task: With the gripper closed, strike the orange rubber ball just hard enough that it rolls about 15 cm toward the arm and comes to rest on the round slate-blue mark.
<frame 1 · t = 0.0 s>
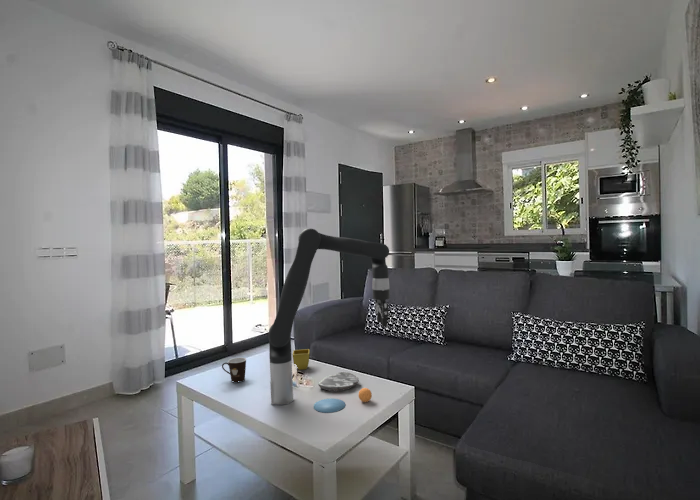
hand: (382, 324, 169), 29 cm above the table, tool pointing down, fingers open, 8 cm apart
flower pot: (301, 368, 203), on the table
ball: (365, 395, 158), on the table
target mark: (329, 405, 155), on the table
coffee mug: (236, 380, 190), on the table
brain slice: (340, 386, 177), on the table
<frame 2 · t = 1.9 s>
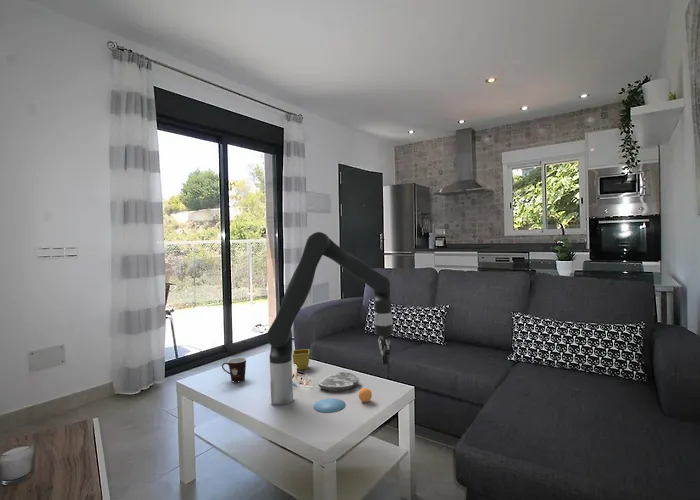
hand: (385, 364, 159), 15 cm above the table, tool pointing down, fingers closed
nothing on the table moved.
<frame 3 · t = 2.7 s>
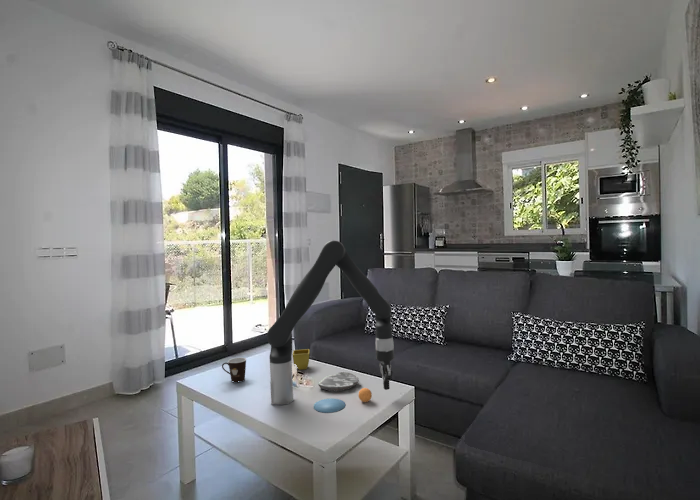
hand: (386, 388, 159), 4 cm above the table, tool pointing down, fingers closed
nothing on the table moved.
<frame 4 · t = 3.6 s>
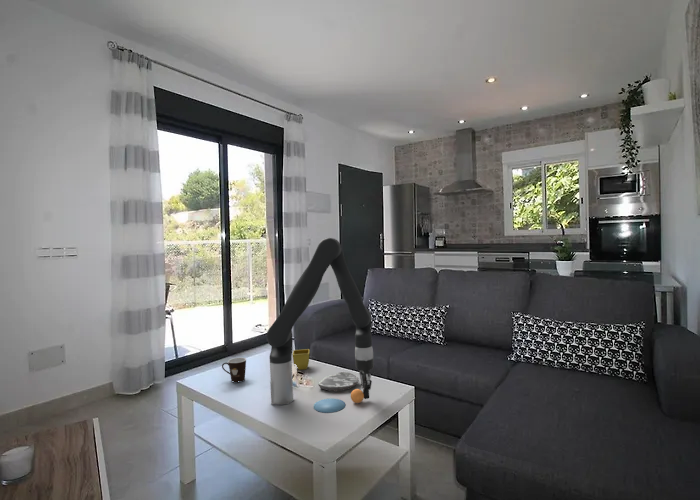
hand: (366, 398, 158), 1 cm above the table, tool pointing down, fingers closed
ball: (357, 395, 157), on the table, touching gripper
everything else where it was.
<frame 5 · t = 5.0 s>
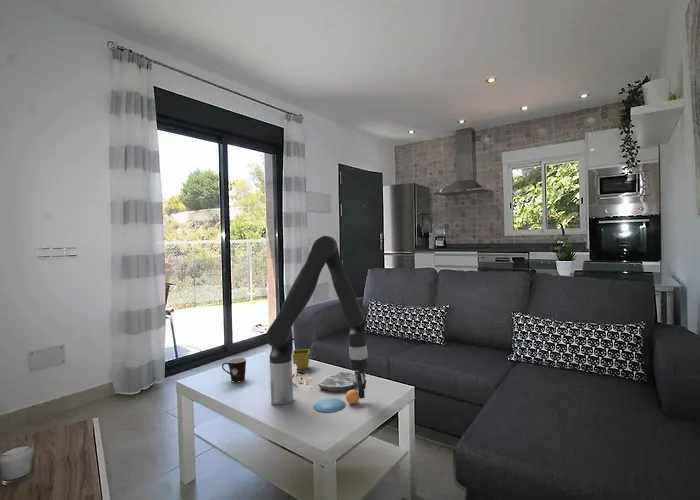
hand: (361, 397, 157), 2 cm above the table, tool pointing down, fingers closed
ball: (352, 396, 157), on the table, touching gripper
everything else where it was.
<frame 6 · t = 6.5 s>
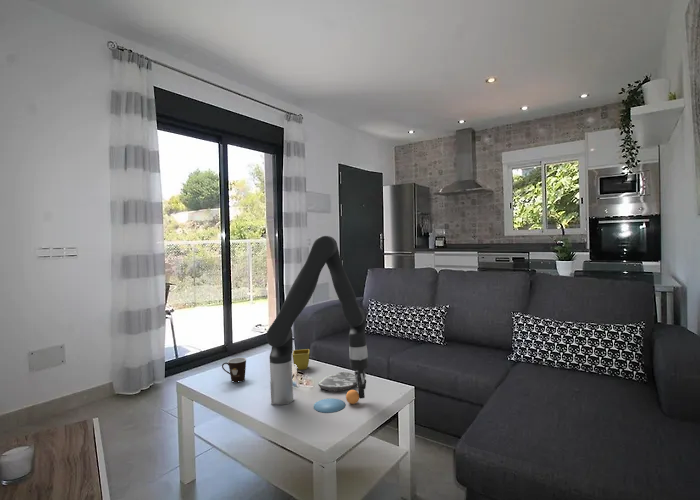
hand: (361, 397, 157), 2 cm above the table, tool pointing down, fingers closed
nothing on the table moved.
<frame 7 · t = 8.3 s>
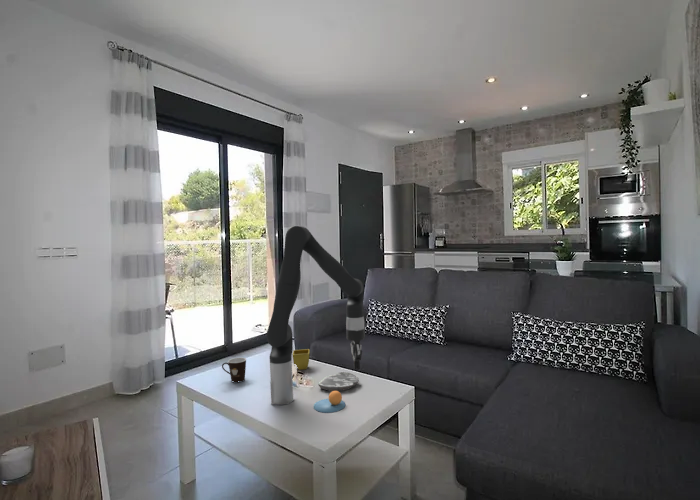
hand: (356, 369, 157), 14 cm above the table, tool pointing down, fingers closed
ball: (335, 397, 156), on the table
everything else where it was.
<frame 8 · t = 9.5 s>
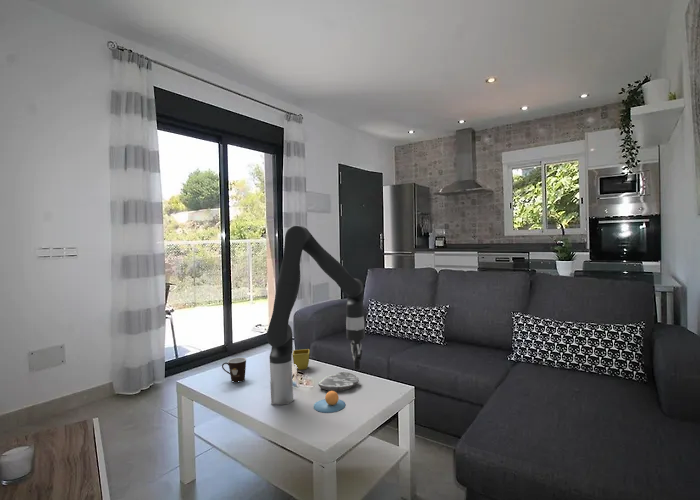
hand: (357, 368, 157), 14 cm above the table, tool pointing down, fingers closed
ball: (331, 398, 156), on the table
everything else where it was.
at the end: ball 1.3 cm from the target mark (horizontally); ball at rest at the end (0.0 cm/s); ball moved 13.8 cm from its start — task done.
